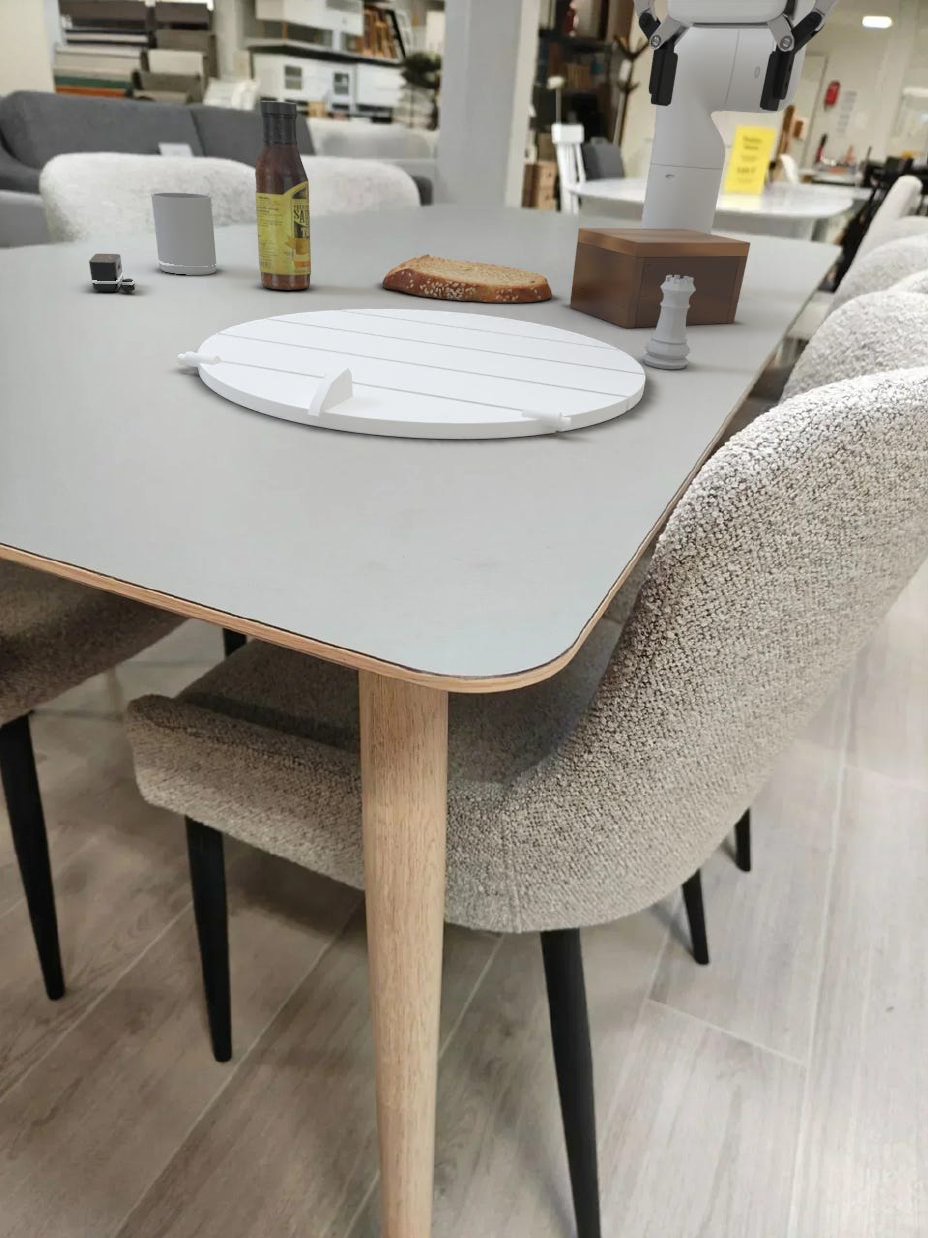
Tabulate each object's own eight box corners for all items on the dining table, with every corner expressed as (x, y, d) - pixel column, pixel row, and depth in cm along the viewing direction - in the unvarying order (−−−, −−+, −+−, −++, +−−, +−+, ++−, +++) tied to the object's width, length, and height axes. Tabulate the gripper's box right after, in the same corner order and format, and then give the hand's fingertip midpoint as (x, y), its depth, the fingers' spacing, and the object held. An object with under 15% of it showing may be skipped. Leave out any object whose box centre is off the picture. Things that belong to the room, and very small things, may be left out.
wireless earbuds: (91, 293, 96) (86, 262, 95) (100, 282, 102) (95, 253, 101) (135, 294, 98) (131, 264, 96) (141, 283, 103) (137, 254, 102)
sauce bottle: (307, 293, 104) (300, 102, 94) (255, 289, 104) (243, 98, 94) (315, 284, 110) (310, 103, 100) (266, 281, 110) (256, 99, 100)
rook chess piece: (688, 372, 81) (705, 282, 77) (641, 367, 82) (655, 278, 78) (687, 361, 85) (703, 275, 81) (642, 356, 86) (655, 271, 82)
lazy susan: (583, 479, 55) (590, 428, 54) (86, 388, 66) (79, 342, 64) (673, 352, 88) (680, 317, 86) (332, 305, 99) (331, 273, 97)
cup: (155, 274, 109) (145, 196, 105) (169, 262, 118) (161, 189, 113) (213, 276, 110) (206, 199, 106) (223, 264, 119) (217, 192, 114)
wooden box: (569, 306, 107) (578, 227, 102) (672, 303, 113) (685, 228, 109) (625, 328, 97) (638, 242, 93) (734, 322, 104) (750, 242, 99)
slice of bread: (563, 299, 111) (567, 268, 109) (456, 310, 100) (458, 276, 98) (473, 276, 122) (474, 248, 120) (368, 284, 112) (368, 253, 110)
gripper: (886, -149, 65) (825, 114, 73) (670, -131, 72) (637, 105, 81) (867, -180, 59) (803, 109, 67) (634, -157, 67) (603, 100, 75)
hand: (712, 107), depth 74 cm, fingers open, 9 cm apart
